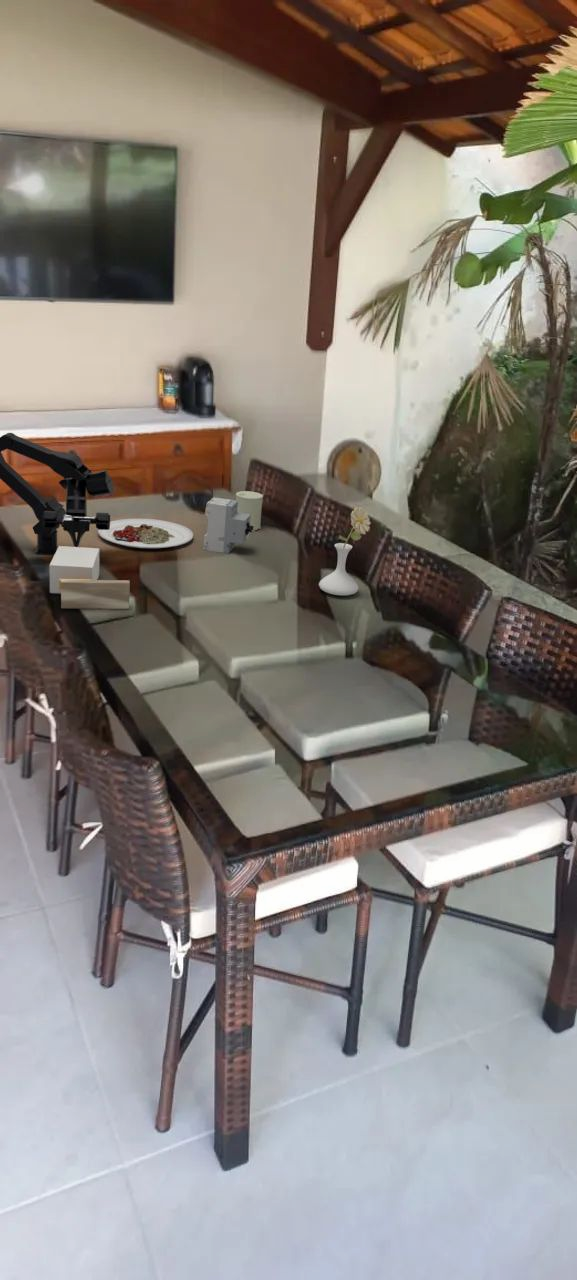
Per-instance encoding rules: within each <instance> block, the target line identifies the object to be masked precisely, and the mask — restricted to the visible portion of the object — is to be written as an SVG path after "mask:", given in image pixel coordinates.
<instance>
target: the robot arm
mask: <svg viewBox="0 0 577 1280" xmlns="http://www.w3.org/2000/svg"><path fill="white" fill-rule="evenodd" d="M5 450H9V451H11V452H14V453H17V454H18V455H22V456H24V457H27V458H29V459H32V460H34V461H36V462H39V463H41V464H43V465H46V466H47V467H49V468H50V469H51V470H52V471H53V472H54V473H56V474H57V475H59V476H61V477H63V478H62V479H61V480H60V481H59V482H58V484H59V485H60V486H61V488H62V489H63V490H66V491H65V502H66V503H65V505H63V504H62V503H61V502H59V501H58V499H56V498H55V497H54V496H52V497H50V498H47V497H45V496H43V495H42V494H41V493H40V492H39V491H38V490H37V489H36V488H34V487H33V486H32V484H30V483H29V482H28V481H27V480H25V478H24V477H23V476H22V475H21V474H19V473H18V472H17V471H16V470H15V469H14V468H13V467H12V466H11V465H10V464H9V463H7V461H6V459H5V457H4V455H3V453H2V452H3V451H5ZM0 480H1V481H2V482H3V483H4V484H5V485H6V486H8V488H10V489H11V490H12V492H14V493H15V494H16V496H18V497H19V498H20V499H21V500H23V501H24V503H26V504H27V505H28V506H29V507H30V508H31V510H32V511H33V515H35V517H36V519H37V520H38V522H36V524H34V526H32V531H33V533H34V534H35V535H36V540H37V541H36V543H37V544H36V546H35V554H36V555H38V554H39V555H55V553H56V551H57V549H58V547H59V546H60V545H58V529H60V527H61V528H62V529H63V530H62V531H65V532H67V533H68V534H69V536H70V539H71V541H72V544H73V547H80V543H81V541H82V538H83V536H84V534H85V533H86V532H90V526H91V525H95V528H96V529H97V531H98V530H109V529H110V522H111V515H110V514H109V513H108V512H96V513H95V516H88V513H87V511H88V510H87V507H88V505H87V504H88V502H87V501H88V500H87V494H88V495H89V496H92V497H93V498H94V497H100V496H105V495H107V496H108V495H112V494H114V490H115V489H114V488H115V487H114V481H113V479H112V478H111V476H110V474H109V473H108V470H107V469H104V470H101V471H97V472H93V471H92V470H91V469H90V468H89V467H88V466H87V465H86V464H85V463H83V461H82V459H81V457H80V456H78V455H77V454H74V453H69V452H65V451H58V450H57V451H55V450H53V449H50V448H47V447H45V446H43V445H40V444H38V443H35V442H33V441H31V440H28V439H25V438H24V437H20V436H18V435H17V434H15V433H13V432H6V433H5V434H3V435H1V436H0ZM64 506H65V508H64ZM76 533H77V534H76Z"/></svg>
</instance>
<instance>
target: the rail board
mask: <svg viewBox="0 0 577 1280" xmlns="http://www.w3.org/2000/svg"><path fill="white" fill-rule="evenodd" d="M130 585H131V584H130V580H129V579H128V580H127V579H126V580H123V579H122V580H119V579H117V580H116V579H115V580H113V579H108V580H107V579H98V580H61V594H60V596H61V597H60V598H61V599H60V604H61V605H60V608H61V609H99V608H100V609H102V610H103V609H111V610H113V609H114V610H115V609H116V610H120V609H123V610H124V609H125V610H126V609H130V592H131V591H130V590H131V589H130V588H131V587H130ZM100 609H99V610H100Z"/></svg>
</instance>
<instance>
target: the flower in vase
mask: <svg viewBox="0 0 577 1280" xmlns="http://www.w3.org/2000/svg"><path fill="white" fill-rule="evenodd" d="M368 513H369V512H368ZM368 513H367V512H366V510H365V509H364V508H363V507H362V506H360V507H359V506H356V507H354V508H353V510H352V511H351V513H350V521H351V523H350V524H351V526H352V528H351V529H350V530H351V531H350V532H349V534H348V536H347V538H346V537H343V535H341V534H339V536H338V539H339V540H341V541H345V542H343V543H342V542H338V543H335V544H334V548H335V549H336V552H337V562H336V563H337V565H336V568H335V570H334V571H333V572H331V573H330V574H328V575H325V576H324V577H323V578H322V579H320V581H319V582H318V586H319V588H320V590H322V591H323V592H325V593H327V594H330V595H335V596H351V595H355V594H356V593H357V592H358V591H359V586H358V583H357V582H356V581H355V580H354V579H353V578H352V577H351V576H350V575H349V574H348V573H347V571H346V561H347V557H348V554H349V553H350V551H351V550H352V548H353V545H351V544H349V543H348V541H349V539H350V538H351V539H352V540H353V541H355V542H356V541H359V540H360V539H361V538H362V535H366V532H369V531H370V529H371V528H370V525H371V521H370V519H371V518H369V514H368ZM353 530H354V531H353Z"/></svg>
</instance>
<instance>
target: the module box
mask: <svg viewBox="0 0 577 1280" xmlns="http://www.w3.org/2000/svg"><path fill="white" fill-rule="evenodd" d="M58 546H59V547H58V549H57V551H56V553H55V554H53V558H52V559H51V561H50V563H49V593H50V594H60V595H61V590H59V579H91V580H97V579H98V580H99V576H100V548H98V547H97V548H95V547H83V546H82V547H81V546H79V547H74V546H67V545H65V546H64V545H63V546H62V545H58Z"/></svg>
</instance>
